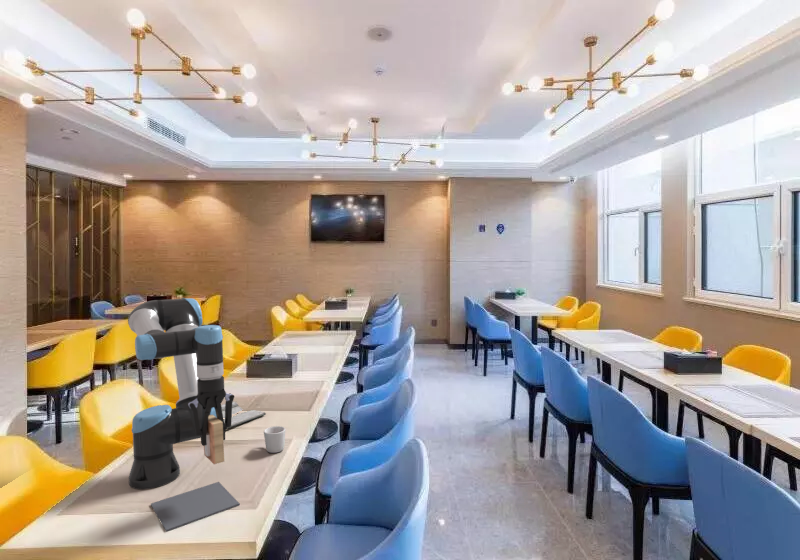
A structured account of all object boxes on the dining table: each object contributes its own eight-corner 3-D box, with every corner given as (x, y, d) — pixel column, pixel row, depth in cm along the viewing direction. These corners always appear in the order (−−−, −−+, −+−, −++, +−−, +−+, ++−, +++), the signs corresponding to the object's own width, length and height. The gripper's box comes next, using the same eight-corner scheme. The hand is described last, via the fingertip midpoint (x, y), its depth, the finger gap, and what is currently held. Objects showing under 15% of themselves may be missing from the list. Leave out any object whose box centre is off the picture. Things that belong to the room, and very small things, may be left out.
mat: (224, 433, 196) (224, 422, 196) (189, 424, 208) (188, 414, 208) (266, 416, 216) (265, 406, 216) (231, 409, 228) (231, 399, 228)
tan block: (204, 454, 145) (202, 416, 144) (214, 452, 146) (212, 414, 146) (214, 464, 138) (212, 424, 137) (224, 461, 140) (222, 422, 139)
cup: (257, 448, 179) (256, 428, 179) (275, 442, 185) (274, 422, 184) (271, 456, 172) (270, 435, 171) (290, 450, 177) (289, 429, 177)
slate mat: (150, 505, 139) (150, 503, 139) (218, 483, 152) (218, 481, 152) (166, 531, 126) (166, 530, 126) (239, 505, 138) (239, 503, 138)
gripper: (185, 384, 133) (189, 465, 134) (241, 374, 143) (244, 449, 144) (178, 379, 138) (182, 456, 140) (232, 370, 149) (235, 442, 150)
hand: (213, 453), depth 142 cm, fingers closed on tan block, 3 cm apart
